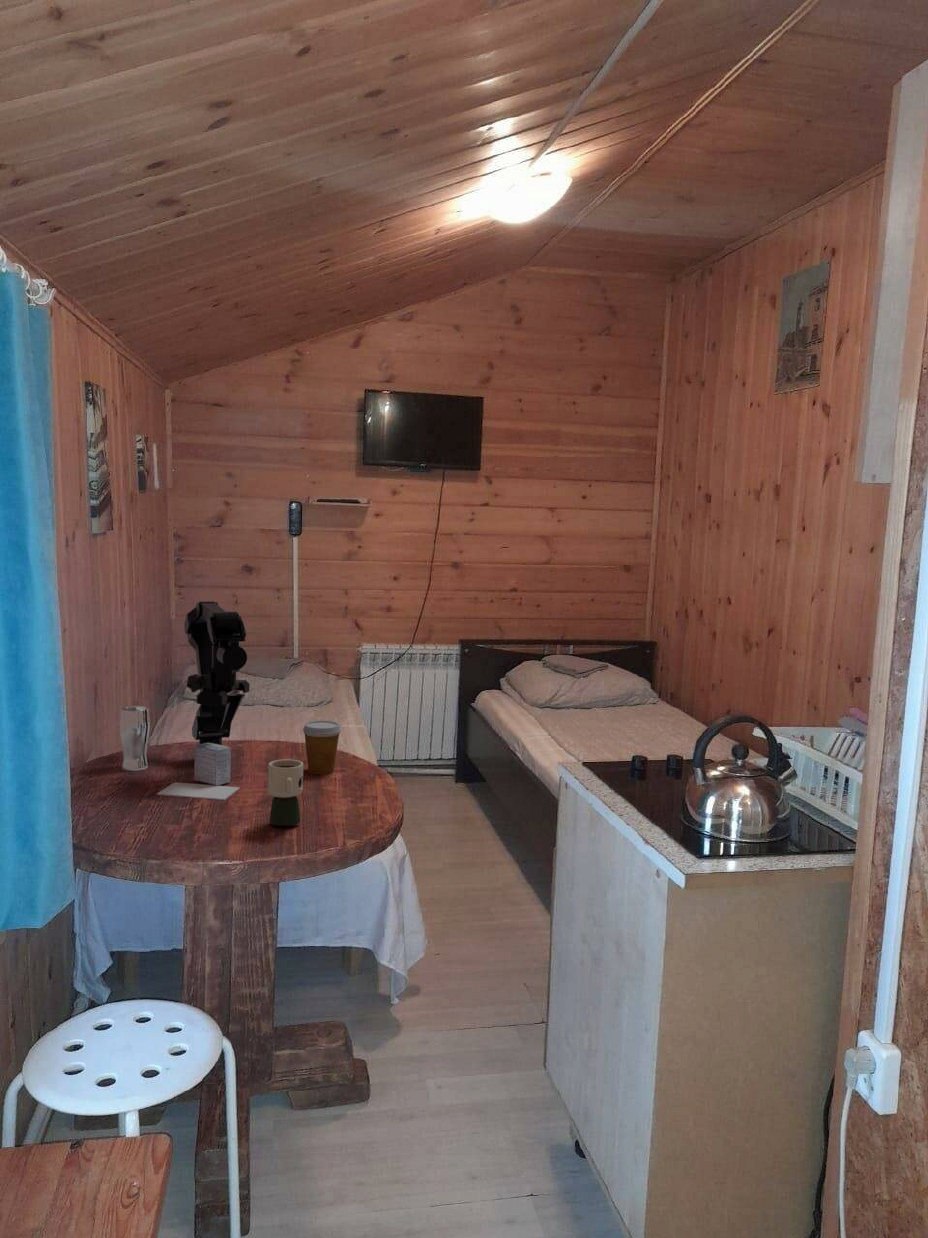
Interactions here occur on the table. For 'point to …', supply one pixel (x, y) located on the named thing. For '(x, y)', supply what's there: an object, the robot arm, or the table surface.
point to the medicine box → (212, 763)
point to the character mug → (285, 791)
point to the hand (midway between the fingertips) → (223, 726)
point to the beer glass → (134, 736)
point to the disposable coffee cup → (321, 745)
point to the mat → (198, 791)
